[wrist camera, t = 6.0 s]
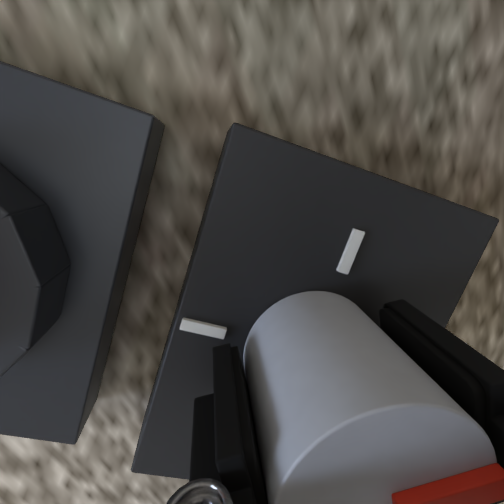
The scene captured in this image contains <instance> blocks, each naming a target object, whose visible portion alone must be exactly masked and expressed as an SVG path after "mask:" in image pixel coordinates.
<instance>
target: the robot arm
mask: <svg viewBox="0 0 504 504" xmlns="http://www.w3.org/2000/svg"><path fill="white" fill-rule="evenodd" d="M379 318H380V328H381V330H382V331H384V332H385V333H386V334H387V335H388V336H389V337H390V338H391V339H392V340H393V341H394V342H395V343H396V344H397V345H398V346H399V347H400V348H401V349H402V350H403V351H404V352H405V353H406V354H407V355H408V356H409V357H410V358H411V359H412V360H413V361H414V362H415V363H416V364H417V365H418V366H419V367H420V368H421V369H422V370H423V371H424V372H425V373H427V374H428V375H429V376H430V377H431V378H432V379H433V380H434V381H435V382H436V383H437V384H438V385H439V386H440V387H441V388H442V389H443V390H444V391H445V392H446V393H447V394H448V395H449V396H450V397H451V398H452V399H453V400H454V401H455V402H456V403H457V404H458V405H459V406H460V407H461V408H462V409H463V410H464V411H465V412H466V413H467V414H468V415H470V416H471V417H472V418H473V419H474V420H475V421H476V422H477V423H478V424H479V425H480V426H481V427H482V428H483V430H484V431H485V433H486V434H487V435H488V437H489V439H490V441H491V443H492V445H493V448H494V450H495V454H496V459H497V463H498V464H499V465H500V466H501V467H502V468H503V469H504V370H503V369H501V368H500V367H499V366H497V365H496V364H494V363H493V362H491V361H490V360H489V359H487V358H486V357H484V356H483V355H482V354H480V353H479V352H477V351H476V350H475V349H473V348H472V347H470V346H469V345H468V344H466V343H465V342H463V341H462V340H460V339H459V338H458V337H456V336H455V335H453V334H452V333H451V332H449V331H448V330H446V329H445V328H444V327H442V326H441V325H439V324H438V323H437V322H435V321H434V320H432V319H431V318H429V317H428V316H427V315H425V314H424V313H422V312H421V311H420V310H418V309H417V308H415V307H414V306H413V305H411V304H410V303H408V302H407V301H405V300H404V299H400V300H396V301H392V302H388V303H385V304H384V306H383V309H380V311H379ZM212 350H213V391H214V393H212V394H208V395H204V396H201V397H197V398H195V400H194V410H193V427H192V444H191V462H190V479H189V482H188V483H187V484H185V485H184V486H182V487H181V488H179V489H178V490H177V491H176V492H175V493H174V494H173V495H172V496H171V497H170V499H169V500H168V502H167V504H268V500H267V495H266V489H265V483H264V477H263V472H262V466H261V460H260V454H259V449H258V443H257V437H256V431H255V426H254V420H253V414H252V408H251V403H250V397H249V391H248V385H247V381H246V377H245V373H244V369H243V365H242V361H241V357H240V353H239V349H238V346H235V347H231V344H230V343H227V344H223V345H219V346H215V347H213V349H212ZM501 502H504V500H501V501H498V502H495V503H491V504H498V503H501Z"/></svg>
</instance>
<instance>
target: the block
mask: <svg viewBox="0 0 504 504" xmlns="http://www.w3.org/2000/svg"><path fill="white" fill-rule="evenodd" d="M163 130H164V124H163V123H162V122H161V121H160V120H158V119H157V118H156V117H155V116H153V115H152V114H149V113H146V112H143V111H141V110H138V109H135V108H132V107H129V106H126V105H124V104H121V103H118V102H115V101H112V100H109V99H107V98H104V97H101V96H98V95H95V94H92V93H89V92H87V91H84V90H81V89H78V88H75V87H72V86H70V85H67V84H64V83H61V82H58V81H55V80H53V79H50V78H47V77H44V76H41V75H38V74H36V73H33V72H30V71H27V70H24V69H21V68H19V67H16V66H13V65H10V64H7V63H4V62H2V61H0V434H2V435H10V436H17V437H24V438H31V439H38V440H45V441H52V442H59V443H66V444H75V443H76V442H77V440H78V438H79V436H80V434H81V432H82V430H83V428H84V425H85V423H86V421H87V419H88V417H89V415H90V413H91V410H92V408H93V406H94V404H95V402H96V400H97V396H98V392H99V387H100V383H101V379H102V375H103V371H104V367H105V363H106V359H107V355H108V351H109V347H110V343H111V339H112V335H113V331H114V327H115V323H116V319H117V315H118V311H119V307H120V303H121V299H122V295H123V291H124V287H125V283H126V279H127V275H128V271H129V267H130V263H131V259H132V255H133V251H134V247H135V243H136V239H137V235H138V231H139V227H140V223H141V219H142V215H143V211H144V207H145V203H146V199H147V194H148V190H149V186H150V182H151V178H152V174H153V170H154V166H155V162H156V158H157V154H158V150H159V146H160V142H161V138H162V134H163Z"/></svg>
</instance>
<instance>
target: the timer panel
mask: <svg viewBox="0 0 504 504" xmlns="http://www.w3.org/2000/svg"><path fill="white" fill-rule="evenodd" d="M498 222H499V220H498V219H497V218H495V217H492V216H489V215H487V214H484V213H481V212H479V211H476V210H473V209H470V208H468V207H465V206H462V205H459V204H457V203H454V202H451V201H449V200H446V199H443V198H440V197H438V196H435V195H432V194H429V193H427V192H424V191H421V190H419V189H416V188H413V187H410V186H408V185H405V184H402V183H399V182H397V181H394V180H391V179H388V178H386V177H383V176H380V175H378V174H375V173H372V172H369V171H367V170H364V169H361V168H358V167H356V166H353V165H350V164H348V163H345V162H342V161H339V160H337V159H334V158H331V157H328V156H326V155H323V154H320V153H318V152H315V151H312V150H309V149H307V148H304V147H301V146H298V145H296V144H293V143H290V142H288V141H285V140H282V139H279V138H277V137H274V136H271V135H268V134H266V133H263V132H260V131H257V130H255V129H252V128H249V127H247V126H244V125H241V124H238V123H233V125H232V126H231V128H230V129H229V130H228V132H227V135H226V139H225V142H224V146H223V149H222V152H221V156H220V159H219V163H218V166H217V170H216V173H215V176H214V180H213V183H212V187H211V190H210V194H209V197H208V200H207V204H206V207H205V211H204V214H203V217H202V221H201V224H200V228H199V231H198V235H197V238H196V241H195V245H194V248H193V252H192V255H191V259H190V262H189V265H188V269H187V272H186V276H185V279H184V283H183V286H182V289H181V293H180V296H179V300H178V303H177V307H176V310H175V313H174V317H173V320H172V324H171V327H170V330H169V334H168V337H167V341H166V344H165V348H164V351H163V354H162V358H161V361H160V365H159V368H158V372H157V375H156V378H155V382H154V385H153V389H152V392H151V396H150V399H149V402H148V406H147V409H146V413H145V416H144V420H143V424H142V428H141V432H140V436H139V440H138V444H137V448H136V452H135V456H134V460H133V464H132V468H131V471H132V472H134V473H142V474H150V475H158V476H165V477H173V478H181V479H190V462H191V444H192V427H193V410H194V400H195V398H197V397H201V396H204V395H208V394H212V393H214V391H213V350H212V349H213V347H215V346H219V345H223V344H227V343H230V344H231V347H235V346H238V349H239V353H240V357H241V361H242V365H243V369H244V373H245V368H244V362H243V354H244V346H245V343H246V339H247V337H248V334H249V332H250V330H251V328H252V327H253V325H254V323H255V322H256V321H257V320H258V318H259V317H260V316H261V315H262V314H263V313H264V312H265V311H266V310H267V309H268V308H270V307H271V306H272V305H273V304H275V303H277V302H278V301H280V300H282V299H284V298H286V297H288V296H291V295H294V294H297V293H302V292H307V291H326V292H331V293H335V294H338V295H341V296H343V297H345V298H347V299H349V300H350V301H352V302H353V303H355V304H356V305H357V306H358V307H359V308H360V309H361V310H362V311H363V312H364V313H365V314H366V315H367V316H368V317H369V318H370V319H371V320H372V321H373V322H374V323H375V324H376V325H377V326H378V327H379V328H380V318H379V311H380V309H383V306H384V304H385V303H388V302H392V301H396V300H400V299H404V300H405V301H407V302H408V303H410V304H411V305H413V306H414V307H415V308H417V309H418V310H420V311H421V312H422V313H424V314H425V315H427V316H428V317H429V318H431V319H432V320H434V321H435V322H437V323H438V324H439V325H441V326H442V327H444V328H445V327H446V325H447V323H448V321H449V319H450V317H451V315H452V313H453V311H454V309H455V307H456V305H457V303H458V301H459V299H460V297H461V295H462V293H463V291H464V289H465V287H466V285H467V283H468V281H469V279H470V277H471V275H472V274H473V272H474V270H475V268H476V266H477V264H478V262H479V260H480V258H481V256H482V254H483V252H484V250H485V248H486V246H487V244H488V242H489V240H490V238H491V236H492V234H493V232H494V230H495V228H496V226H497V224H498ZM380 329H381V328H380ZM245 377H246V374H245ZM246 381H247V380H246Z"/></svg>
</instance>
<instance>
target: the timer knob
mask: <svg viewBox="0 0 504 504" xmlns="http://www.w3.org/2000/svg"><path fill="white" fill-rule="evenodd" d="M243 362H244V368H245V374H246V380H247V385H248V391H249V397H250V403H251V408H252V414H253V420H254V426H255V431H256V437H257V443H258V449H259V454H260V460H261V466H262V472H263V477H264V483H265V489H266V495H267V500H268V504H491V503H495V502H498V501H501V500H504V469H503V468H502V467H501V466H500V465H499V464H498V463H497V459H496V454H495V450H494V448H493V445H492V443H491V441H490V439H489V437H488V435H487V434H486V433H485V431H484V430H483V428H482V427H481V426H480V425H479V424H478V423H477V422H476V421H475V420H474V419H473V418H472V417H471V416H470V415H468V414H467V413H466V412H465V411H464V410H463V409H462V408H461V407H460V406H459V405H458V404H457V403H456V402H455V401H454V400H453V399H452V398H451V397H450V396H449V395H448V394H447V393H446V392H445V391H444V390H443V389H442V388H441V387H440V386H439V385H438V384H437V383H436V382H435V381H434V380H433V379H432V378H431V377H430V376H429V375H428V374H427V373H425V372H424V371H423V370H422V369H421V368H420V367H419V366H418V365H417V364H416V363H415V362H414V361H413V360H412V359H411V358H410V357H409V356H408V355H407V354H406V353H405V352H404V351H403V350H402V349H401V348H400V347H399V346H398V345H397V344H396V343H395V342H394V341H393V340H392V339H391V338H390V337H389V336H388V335H387V334H386V333H385V332H384V331H382V330H381V329H380V328H379V327H378V326H377V325H376V324H375V323H374V322H373V321H372V320H371V319H370V318H369V317H368V316H367V315H366V314H365V313H364V312H363V311H362V310H361V309H360V308H359V307H358V306H357V305H356V304H355V303H353V302H352V301H350V300H349V299H347V298H345V297H343V296H341V295H338V294H335V293H331V292H326V291H307V292H302V293H297V294H294V295H291V296H288V297H286V298H284V299H282V300H280V301H278V302H277V303H275V304H273V305H272V306H271V307H270V308H268V309H267V310H266V311H265V312H264V313H263V314H262V315H261V316H260V317H259V318H258V320H257V321H256V322H255V323H254V325H253V327H252V328H251V330H250V332H249V334H248V337H247V339H246V343H245V346H244V354H243Z"/></svg>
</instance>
